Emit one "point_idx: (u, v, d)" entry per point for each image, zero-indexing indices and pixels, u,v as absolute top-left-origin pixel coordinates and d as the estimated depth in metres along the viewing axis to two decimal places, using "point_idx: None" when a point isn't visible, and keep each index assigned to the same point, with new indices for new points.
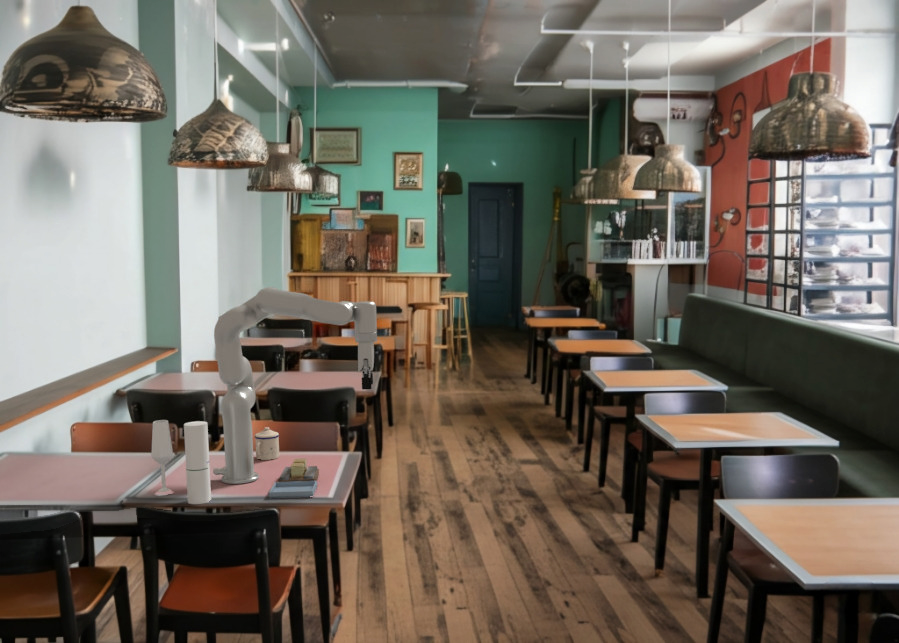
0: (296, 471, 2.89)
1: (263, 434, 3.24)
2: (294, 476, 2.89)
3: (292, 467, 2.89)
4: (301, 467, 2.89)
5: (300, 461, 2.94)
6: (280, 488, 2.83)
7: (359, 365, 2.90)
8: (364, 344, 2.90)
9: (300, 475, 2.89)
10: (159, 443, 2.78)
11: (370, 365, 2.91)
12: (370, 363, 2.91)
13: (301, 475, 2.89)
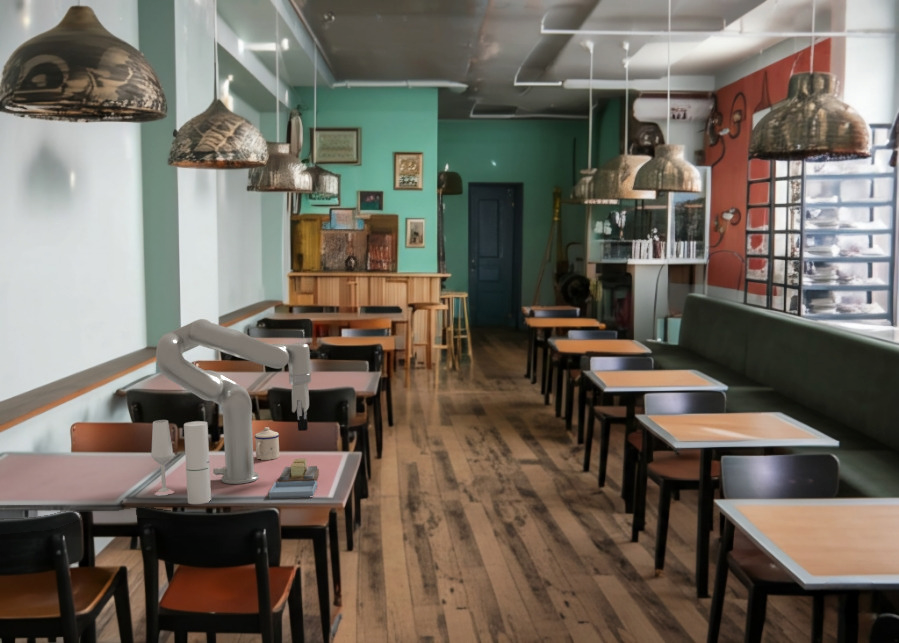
0: (296, 471, 2.89)
1: (263, 434, 3.24)
2: (294, 476, 2.89)
3: (292, 467, 2.89)
4: (301, 467, 2.89)
5: (300, 461, 2.94)
6: (280, 488, 2.83)
7: (293, 406, 2.97)
8: (297, 386, 2.96)
9: (300, 475, 2.89)
10: (159, 443, 2.78)
11: (303, 406, 2.97)
12: (303, 404, 2.97)
13: (301, 475, 2.89)
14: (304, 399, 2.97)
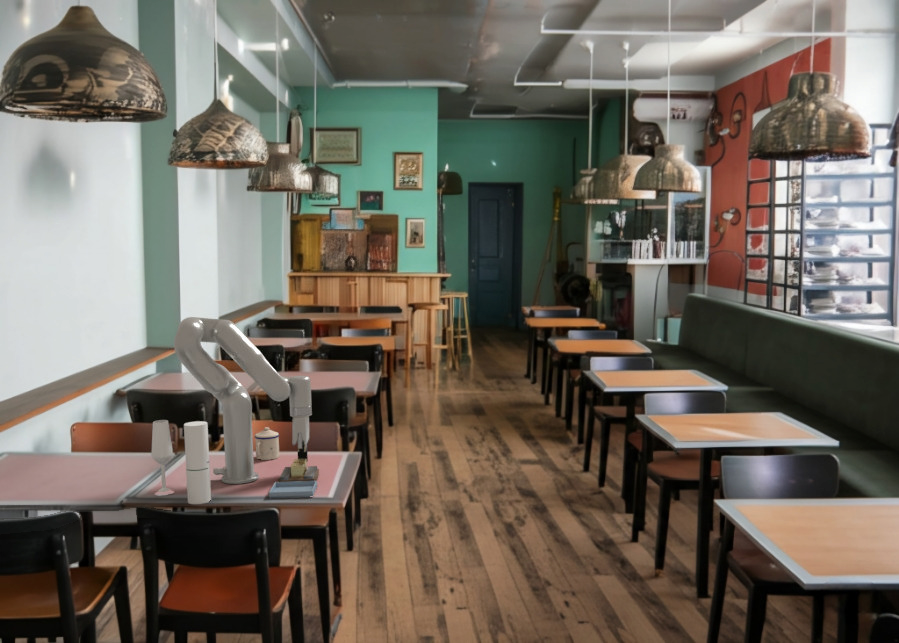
0: (296, 471, 2.89)
1: (263, 434, 3.24)
2: (294, 476, 2.89)
3: (292, 467, 2.89)
4: (301, 467, 2.89)
5: (300, 461, 2.94)
6: (280, 488, 2.83)
7: (293, 439, 2.97)
8: (298, 419, 2.97)
9: (300, 475, 2.89)
10: (159, 443, 2.78)
11: (304, 439, 2.98)
12: (304, 437, 2.98)
13: (301, 475, 2.89)
14: (304, 432, 2.98)
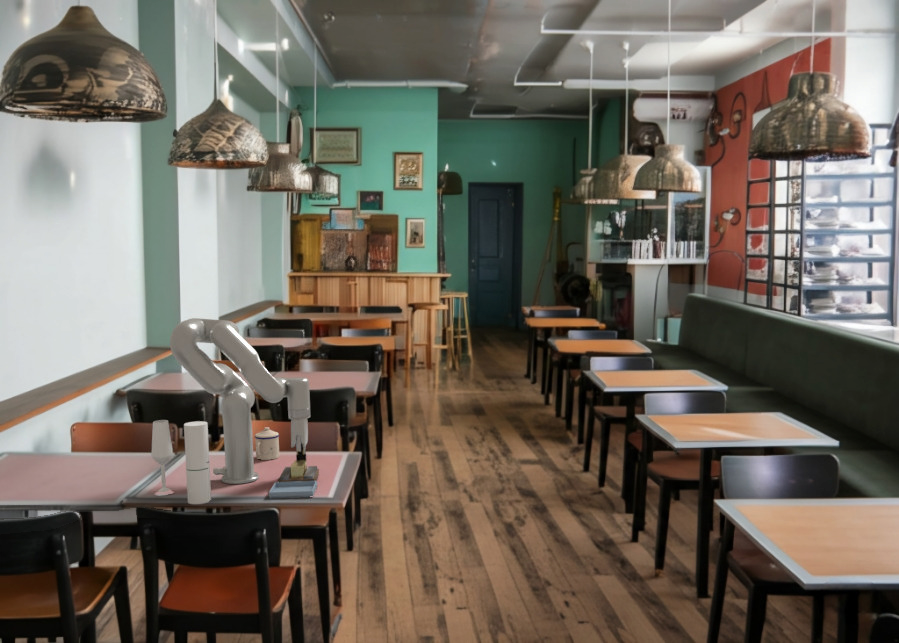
0: (296, 471, 2.88)
1: (263, 434, 3.24)
2: (294, 476, 2.89)
3: (292, 467, 2.88)
4: (301, 467, 2.88)
5: (300, 462, 2.93)
6: (280, 488, 2.83)
7: (292, 442, 2.93)
8: (297, 421, 2.92)
9: (300, 475, 2.89)
10: (159, 443, 2.78)
11: (303, 442, 2.93)
12: (303, 440, 2.93)
13: (301, 475, 2.89)
14: (303, 434, 2.93)
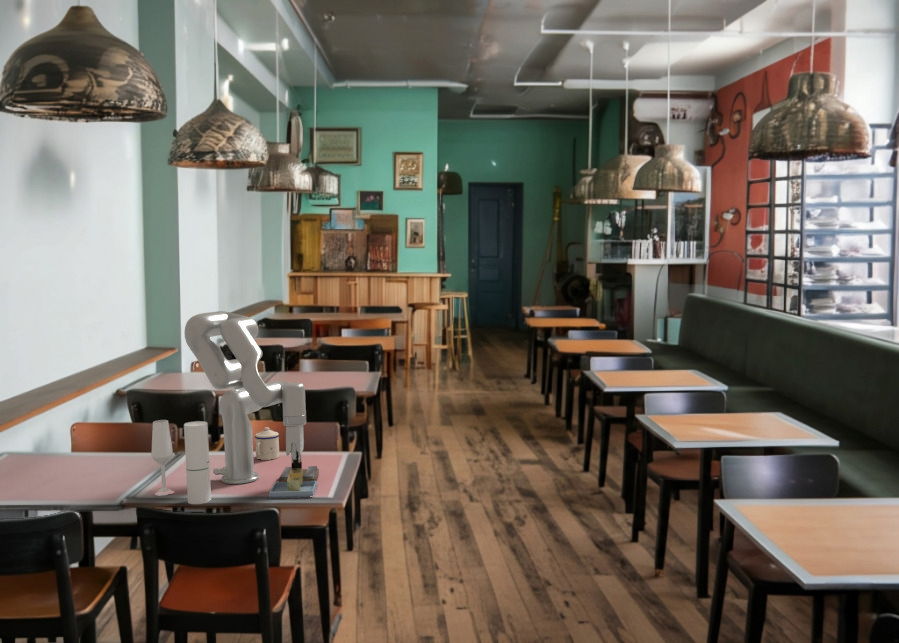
0: None
1: (263, 434, 3.24)
2: None
3: None
4: None
5: (296, 472, 2.82)
6: (280, 488, 2.83)
7: (287, 449, 2.82)
8: (292, 428, 2.82)
9: None
10: (159, 443, 2.78)
11: (298, 449, 2.82)
12: (298, 447, 2.82)
13: None
14: (299, 442, 2.82)
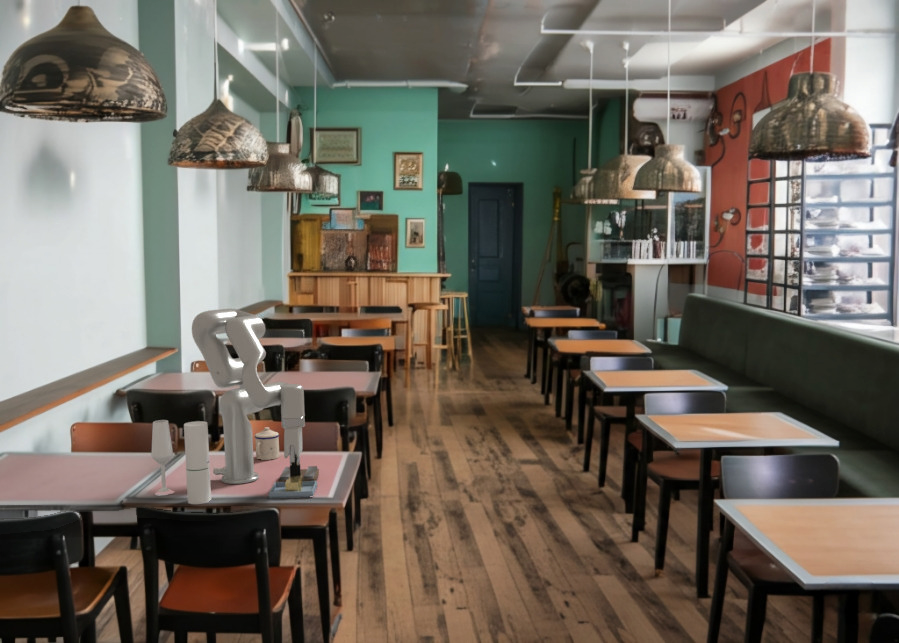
0: None
1: (263, 434, 3.24)
2: None
3: None
4: None
5: (295, 478, 2.80)
6: (280, 488, 2.83)
7: (285, 452, 2.79)
8: (290, 430, 2.78)
9: None
10: (159, 443, 2.78)
11: (296, 452, 2.79)
12: (296, 450, 2.79)
13: None
14: (297, 444, 2.79)
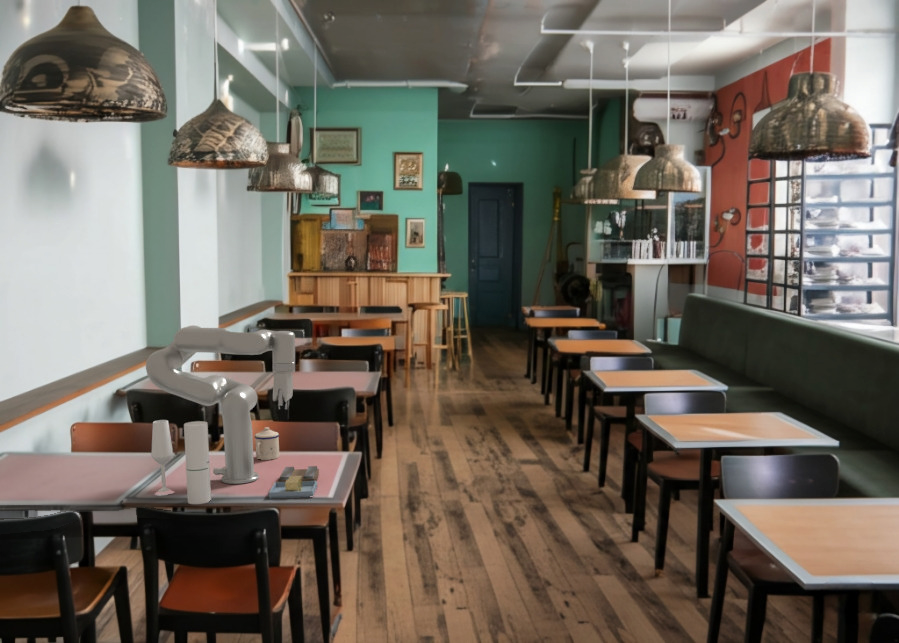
0: None
1: (263, 434, 3.24)
2: None
3: None
4: None
5: (295, 478, 2.79)
6: (280, 488, 2.83)
7: (273, 395, 2.89)
8: (279, 374, 2.89)
9: None
10: (159, 443, 2.78)
11: (284, 396, 2.89)
12: (284, 394, 2.89)
13: None
14: (285, 388, 2.89)
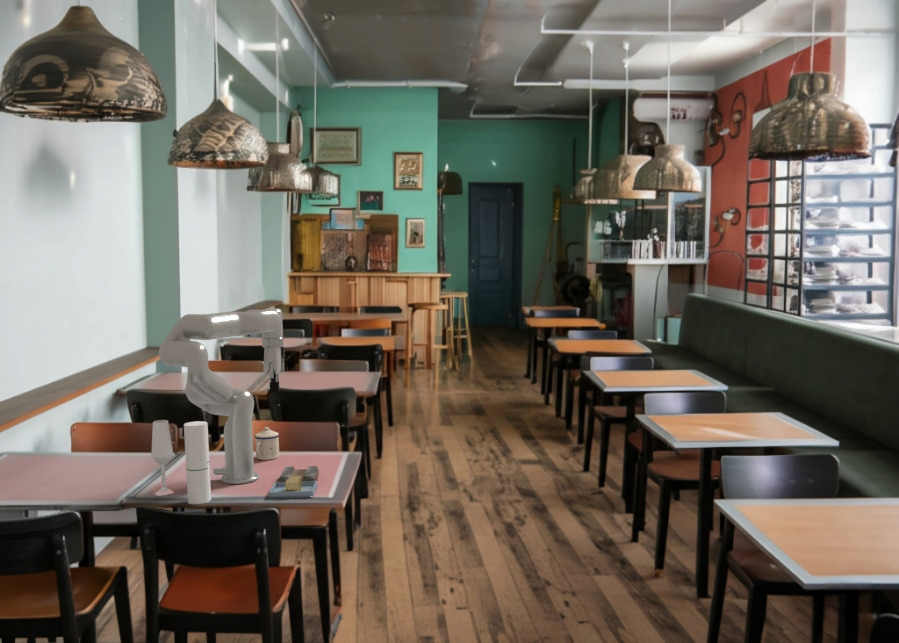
0: None
1: (263, 434, 3.24)
2: None
3: None
4: None
5: (295, 478, 2.79)
6: (280, 488, 2.83)
7: (265, 369, 3.07)
8: (269, 349, 3.07)
9: None
10: (159, 443, 2.78)
11: (275, 369, 3.08)
12: (275, 367, 3.07)
13: None
14: (276, 362, 3.08)
